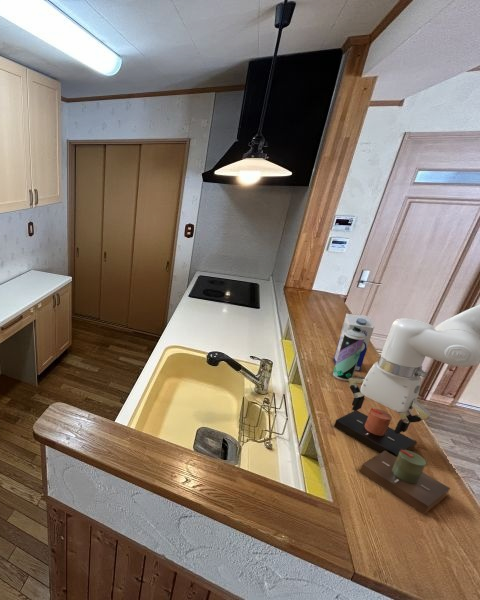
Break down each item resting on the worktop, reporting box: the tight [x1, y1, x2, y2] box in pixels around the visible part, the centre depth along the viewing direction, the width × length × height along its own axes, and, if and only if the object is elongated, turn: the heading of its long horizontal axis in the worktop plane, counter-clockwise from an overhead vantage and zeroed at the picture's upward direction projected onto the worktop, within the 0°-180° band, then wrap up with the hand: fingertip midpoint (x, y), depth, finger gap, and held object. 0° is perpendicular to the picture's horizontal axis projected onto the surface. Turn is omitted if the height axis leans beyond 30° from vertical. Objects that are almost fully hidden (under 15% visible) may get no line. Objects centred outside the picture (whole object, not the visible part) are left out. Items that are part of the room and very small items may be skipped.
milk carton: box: [333, 313, 375, 372], centre depth 121 cm, size 7×7×20 cm
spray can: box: [332, 326, 365, 382], centre depth 114 cm, size 6×6×20 cm
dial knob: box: [364, 407, 393, 436], centre depth 88 cm, size 4×4×6 cm
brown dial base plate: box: [359, 451, 451, 515], centre depth 76 cm, size 12×10×3 cm
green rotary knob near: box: [392, 450, 427, 483], centre depth 74 cm, size 4×4×6 cm
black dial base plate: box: [333, 410, 417, 457], centre depth 89 cm, size 14×10×3 cm
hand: (376, 419), depth 88 cm, fingers open, 9 cm apart
